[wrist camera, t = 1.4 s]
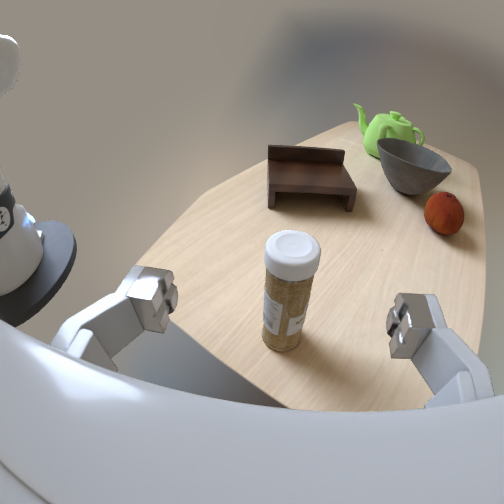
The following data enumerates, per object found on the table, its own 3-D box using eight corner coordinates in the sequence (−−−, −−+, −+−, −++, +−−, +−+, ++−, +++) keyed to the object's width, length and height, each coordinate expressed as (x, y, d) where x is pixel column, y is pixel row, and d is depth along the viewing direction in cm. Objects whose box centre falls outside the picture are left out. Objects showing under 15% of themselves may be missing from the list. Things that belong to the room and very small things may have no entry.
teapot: (425, 171, 69) (436, 127, 60) (368, 164, 69) (376, 114, 59) (398, 147, 83) (406, 109, 74) (347, 141, 83) (352, 99, 73)
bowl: (434, 222, 49) (450, 180, 43) (358, 188, 58) (366, 146, 52) (442, 192, 60) (453, 158, 53) (381, 165, 69) (388, 132, 62)
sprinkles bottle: (303, 350, 30) (328, 263, 21) (262, 354, 29) (267, 265, 21) (297, 318, 33) (315, 227, 24) (259, 320, 33) (262, 228, 24)
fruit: (415, 229, 47) (428, 193, 42) (423, 211, 52) (434, 179, 47) (453, 249, 43) (470, 214, 37) (457, 229, 48) (471, 197, 42)
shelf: (267, 208, 51) (269, 168, 46) (267, 178, 60) (268, 144, 55) (352, 212, 51) (360, 174, 45) (338, 182, 60) (343, 149, 54)
